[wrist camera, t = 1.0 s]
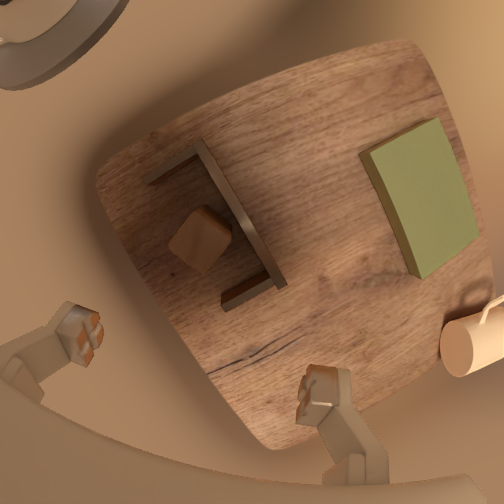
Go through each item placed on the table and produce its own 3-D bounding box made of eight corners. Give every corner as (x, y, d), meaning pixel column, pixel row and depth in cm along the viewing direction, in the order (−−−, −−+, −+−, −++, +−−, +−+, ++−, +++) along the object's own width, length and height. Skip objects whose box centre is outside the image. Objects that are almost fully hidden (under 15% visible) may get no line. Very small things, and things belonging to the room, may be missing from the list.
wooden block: (233, 226, 32) (233, 239, 25) (210, 255, 33) (203, 277, 25) (203, 203, 32) (193, 208, 24) (180, 232, 32) (164, 248, 24)
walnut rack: (149, 178, 31) (131, 177, 25) (205, 142, 30) (198, 133, 24) (226, 302, 34) (224, 325, 28) (280, 271, 34) (290, 289, 28)
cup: (458, 286, 33) (502, 275, 34) (434, 349, 39) (477, 334, 39) (493, 325, 26) (534, 307, 26) (457, 388, 32) (501, 367, 32)
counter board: (358, 154, 31) (369, 152, 28) (424, 120, 31) (437, 116, 28) (409, 273, 35) (422, 280, 32) (466, 231, 34) (480, 235, 31)
